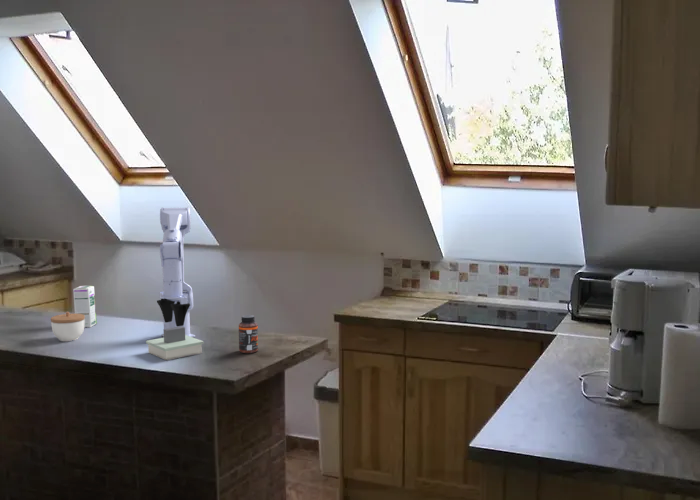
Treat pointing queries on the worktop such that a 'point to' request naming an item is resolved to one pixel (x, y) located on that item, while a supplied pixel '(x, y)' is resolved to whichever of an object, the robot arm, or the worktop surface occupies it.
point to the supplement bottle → (248, 335)
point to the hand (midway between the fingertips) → (174, 323)
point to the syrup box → (85, 304)
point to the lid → (174, 340)
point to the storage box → (175, 352)
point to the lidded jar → (68, 326)
